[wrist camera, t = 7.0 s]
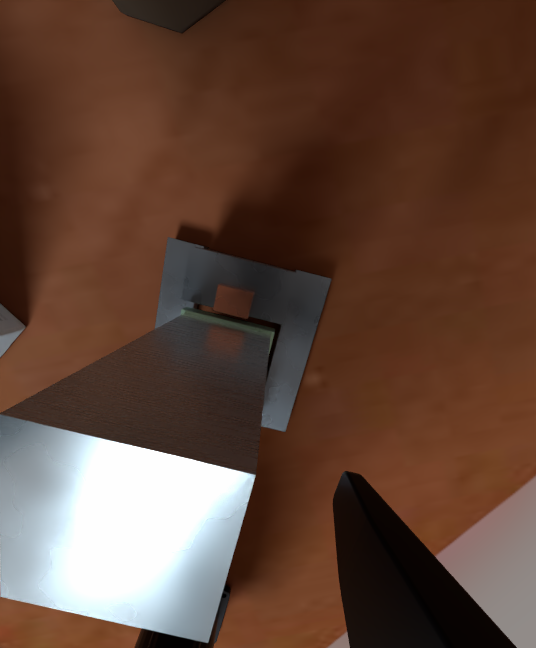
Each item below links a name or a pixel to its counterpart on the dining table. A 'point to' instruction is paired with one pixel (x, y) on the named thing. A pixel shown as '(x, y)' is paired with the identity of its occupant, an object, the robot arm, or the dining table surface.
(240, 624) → the dining table surface
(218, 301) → the grey square frame
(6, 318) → the tea box
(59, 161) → the dining table surface
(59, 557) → the grey rectangular block
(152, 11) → the beer bottle
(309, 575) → the dining table surface
